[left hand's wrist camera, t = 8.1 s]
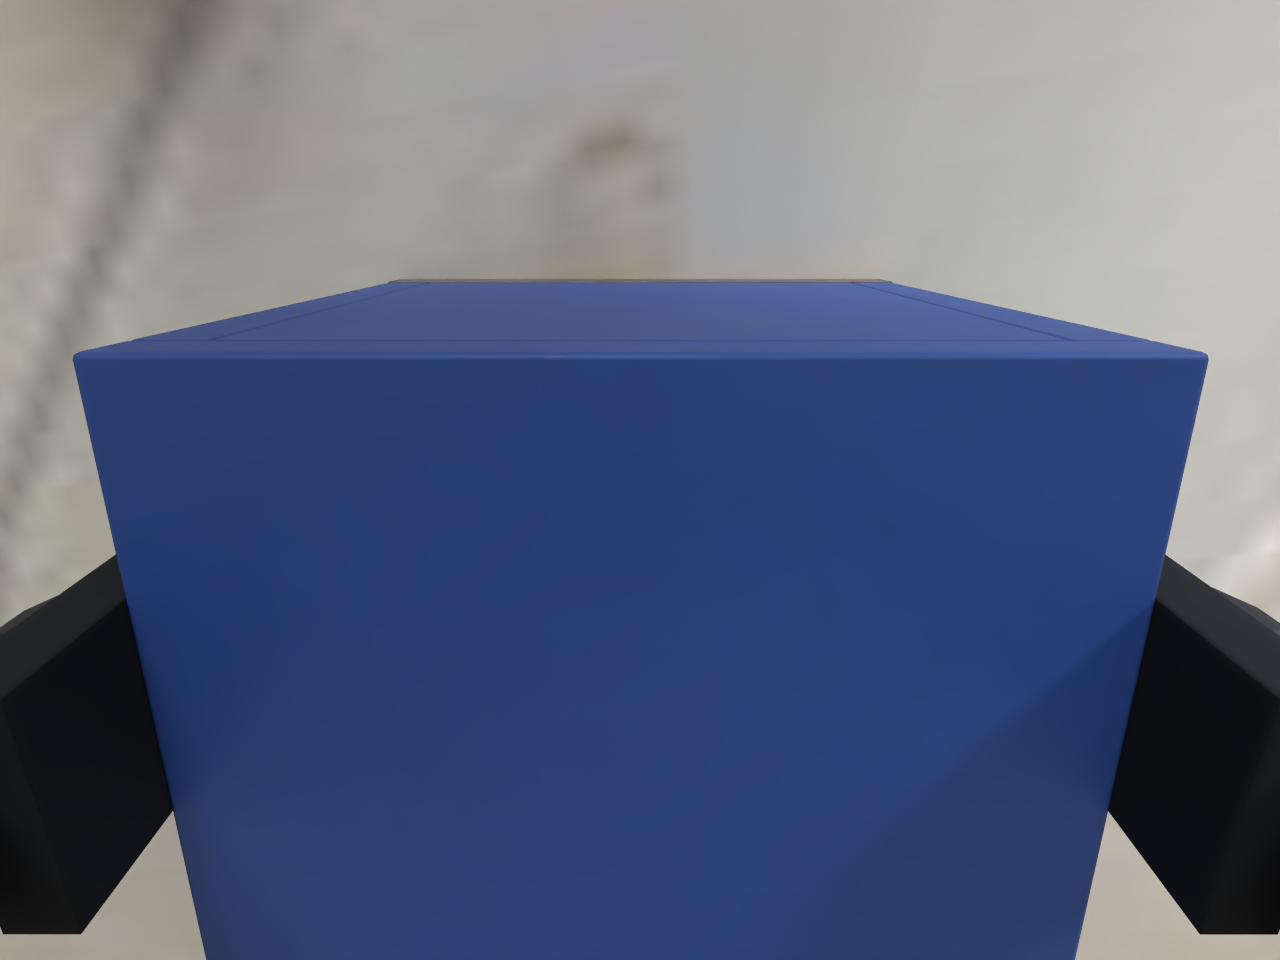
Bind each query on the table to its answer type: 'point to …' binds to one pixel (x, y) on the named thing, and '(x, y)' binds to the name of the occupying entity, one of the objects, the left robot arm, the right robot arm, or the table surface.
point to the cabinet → (640, 614)
